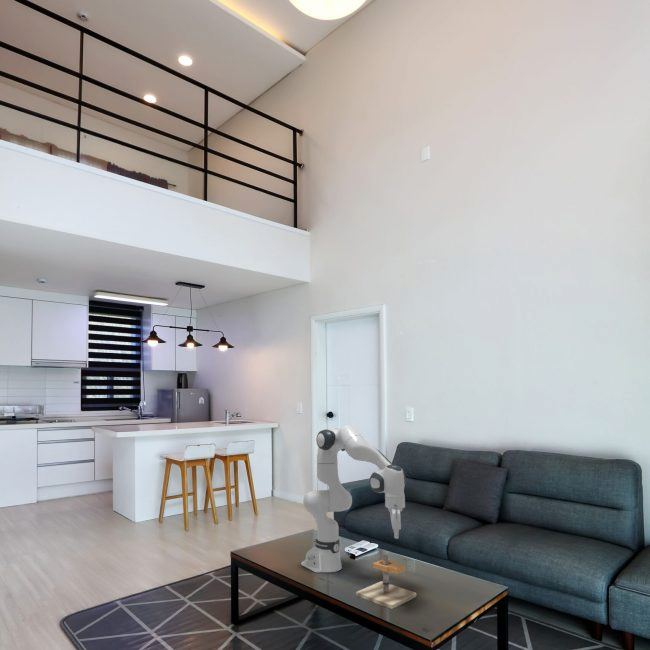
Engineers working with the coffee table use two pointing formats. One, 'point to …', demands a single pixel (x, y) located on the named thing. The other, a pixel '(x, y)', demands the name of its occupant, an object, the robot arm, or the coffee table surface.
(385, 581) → the pipe stand
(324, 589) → the coffee table surface
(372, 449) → the robot arm
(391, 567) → the collar
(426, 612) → the coffee table surface
